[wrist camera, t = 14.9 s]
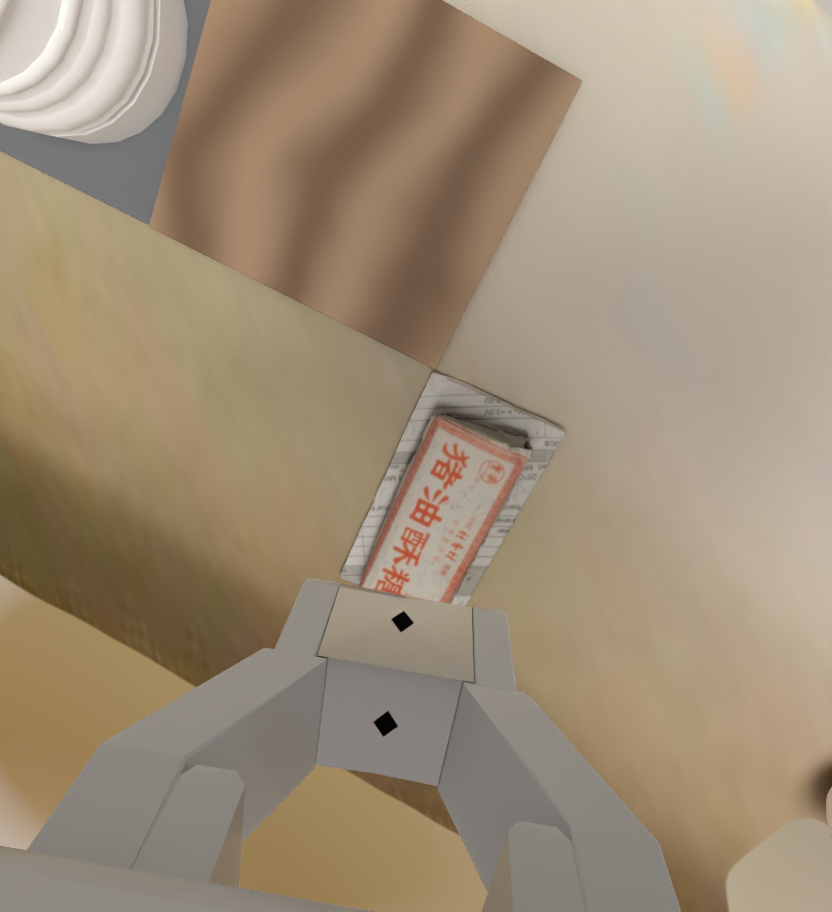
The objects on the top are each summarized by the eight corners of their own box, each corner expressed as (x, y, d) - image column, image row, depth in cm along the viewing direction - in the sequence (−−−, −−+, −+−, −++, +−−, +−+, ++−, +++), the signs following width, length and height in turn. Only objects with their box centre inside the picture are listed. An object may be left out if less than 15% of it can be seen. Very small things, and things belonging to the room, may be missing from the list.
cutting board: (580, 83, 32) (582, 80, 32) (435, 367, 39) (434, 369, 38) (246, -108, 30) (242, -115, 30) (153, 226, 37) (148, 226, 36)
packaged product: (454, 657, 42) (327, 606, 42) (455, 615, 47) (341, 569, 46) (576, 449, 36) (428, 384, 35) (564, 424, 40) (432, 365, 39)
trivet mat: (246, -109, 30) (245, -111, 30) (153, 226, 37) (151, 226, 37) (-56, -283, 28) (-60, -286, 28) (-97, 101, 35) (-100, 101, 35)
